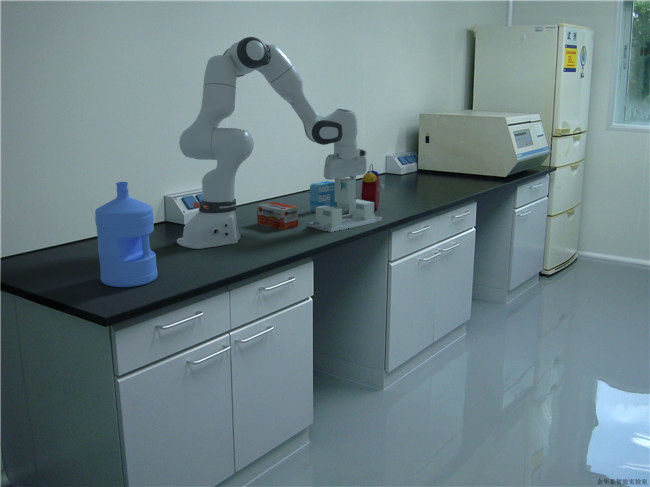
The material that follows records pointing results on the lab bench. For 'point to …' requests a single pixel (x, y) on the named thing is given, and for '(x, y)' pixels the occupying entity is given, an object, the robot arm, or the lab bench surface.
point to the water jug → (125, 241)
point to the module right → (362, 209)
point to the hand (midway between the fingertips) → (345, 188)
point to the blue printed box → (322, 195)
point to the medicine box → (277, 215)
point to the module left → (329, 215)
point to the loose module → (346, 191)
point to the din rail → (345, 223)
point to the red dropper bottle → (371, 187)
